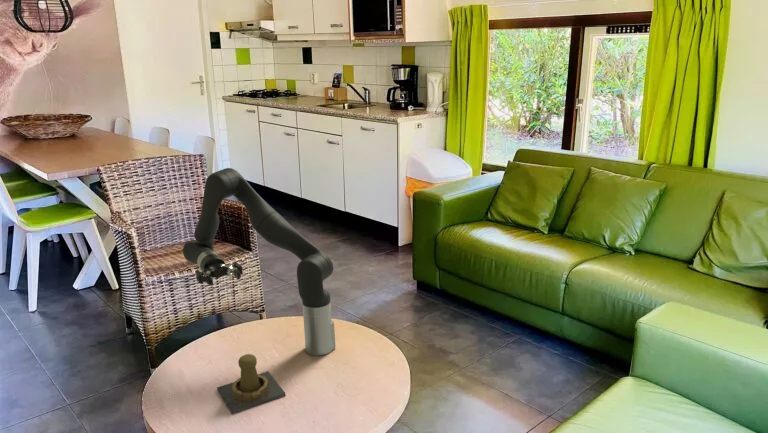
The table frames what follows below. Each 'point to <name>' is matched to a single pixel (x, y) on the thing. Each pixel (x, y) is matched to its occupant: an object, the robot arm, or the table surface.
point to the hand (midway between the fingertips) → (225, 279)
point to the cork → (248, 373)
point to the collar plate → (250, 403)
